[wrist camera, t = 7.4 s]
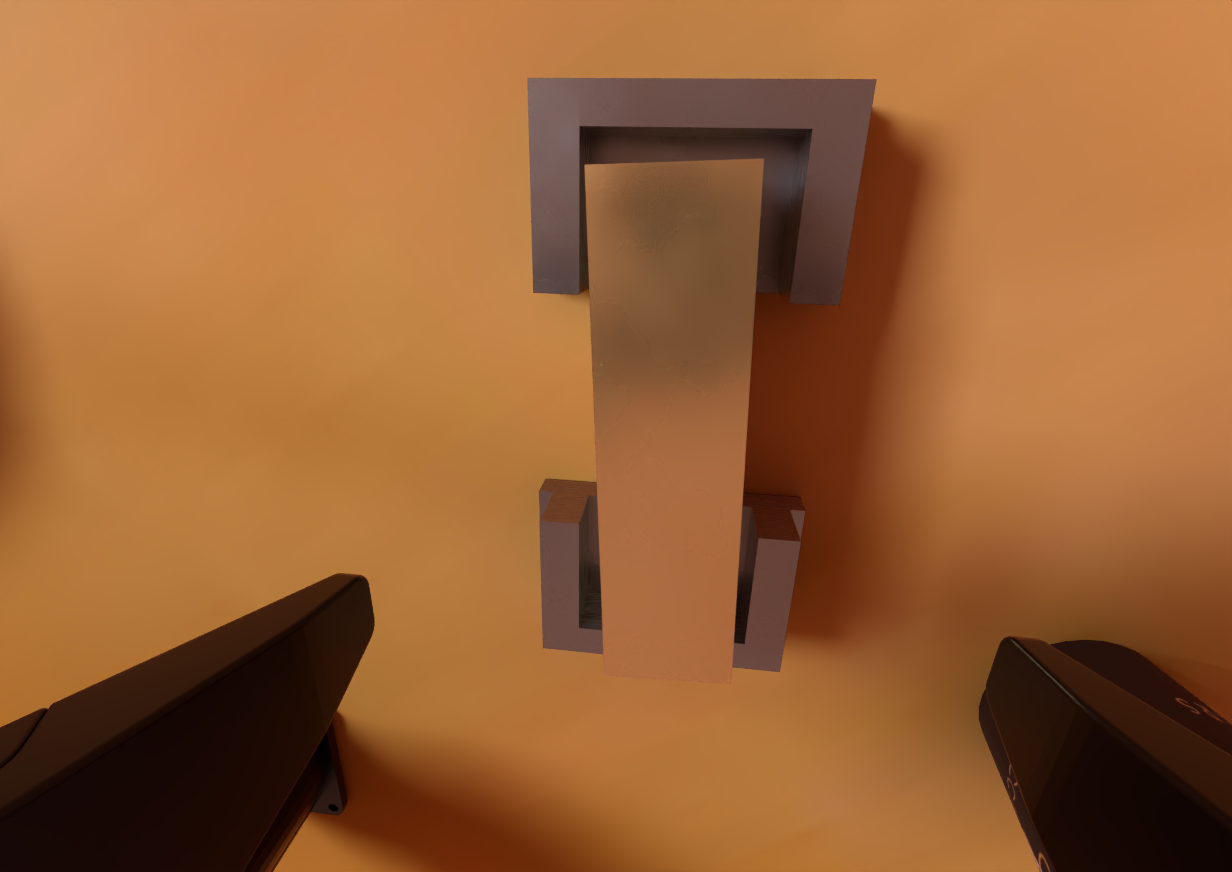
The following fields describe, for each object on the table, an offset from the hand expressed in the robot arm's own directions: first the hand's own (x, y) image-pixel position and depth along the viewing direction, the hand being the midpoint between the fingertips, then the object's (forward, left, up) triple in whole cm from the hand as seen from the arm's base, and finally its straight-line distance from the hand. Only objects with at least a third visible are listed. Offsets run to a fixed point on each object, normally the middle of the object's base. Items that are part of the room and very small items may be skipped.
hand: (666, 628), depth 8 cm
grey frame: (0, 0, -12) cm, 12 cm away
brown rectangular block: (0, 0, -11) cm, 11 cm away
